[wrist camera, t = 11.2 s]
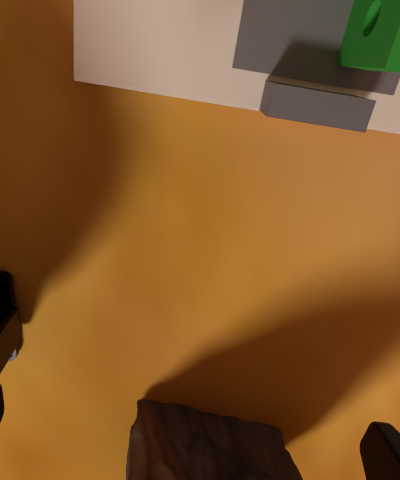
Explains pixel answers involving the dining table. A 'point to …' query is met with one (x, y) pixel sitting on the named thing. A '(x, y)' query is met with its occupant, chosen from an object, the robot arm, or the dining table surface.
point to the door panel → (236, 57)
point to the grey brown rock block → (203, 447)
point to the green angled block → (372, 37)
